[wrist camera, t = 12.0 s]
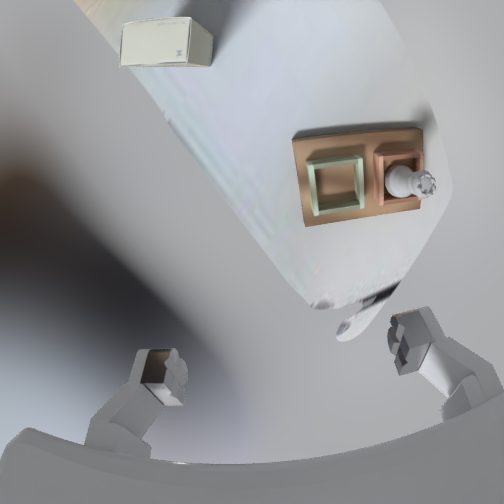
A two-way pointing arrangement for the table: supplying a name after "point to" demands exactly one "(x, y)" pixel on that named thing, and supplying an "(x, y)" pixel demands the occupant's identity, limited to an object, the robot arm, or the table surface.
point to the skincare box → (165, 43)
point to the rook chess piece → (409, 182)
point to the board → (354, 173)
